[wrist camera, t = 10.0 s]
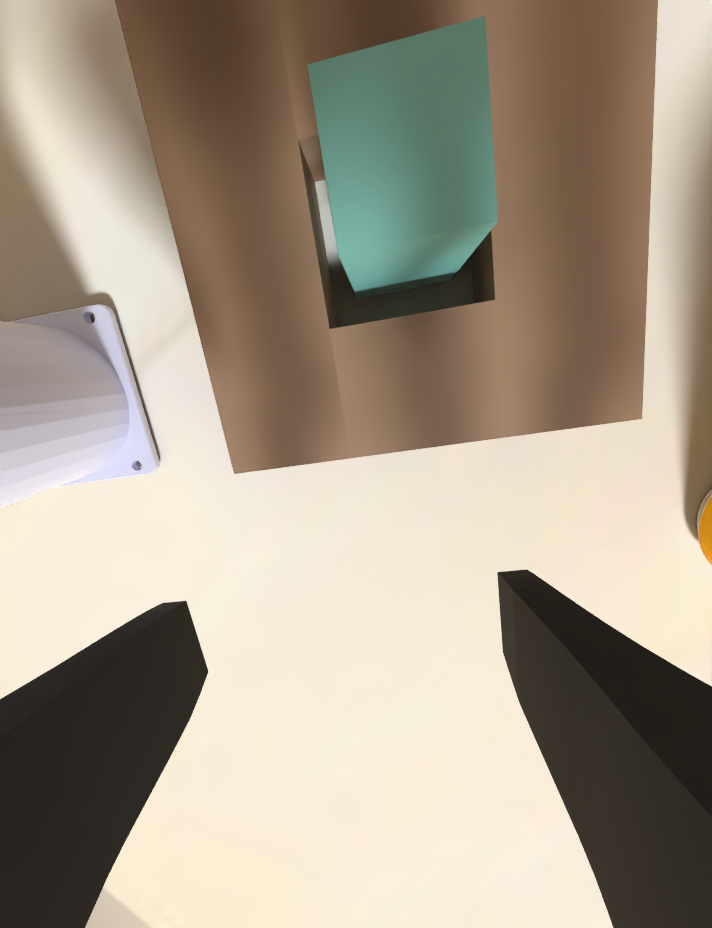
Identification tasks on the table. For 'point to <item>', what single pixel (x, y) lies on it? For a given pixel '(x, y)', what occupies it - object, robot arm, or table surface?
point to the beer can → (705, 526)
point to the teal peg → (408, 156)
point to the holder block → (494, 260)
